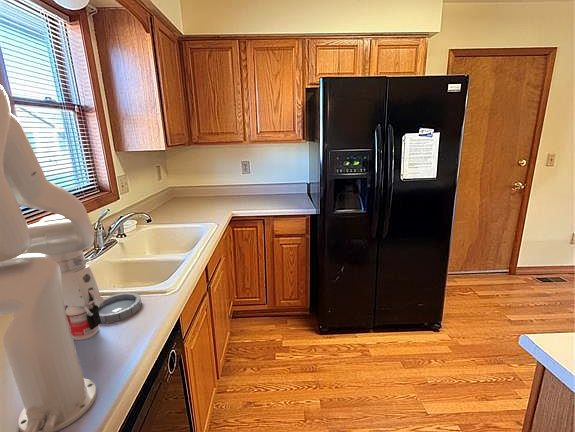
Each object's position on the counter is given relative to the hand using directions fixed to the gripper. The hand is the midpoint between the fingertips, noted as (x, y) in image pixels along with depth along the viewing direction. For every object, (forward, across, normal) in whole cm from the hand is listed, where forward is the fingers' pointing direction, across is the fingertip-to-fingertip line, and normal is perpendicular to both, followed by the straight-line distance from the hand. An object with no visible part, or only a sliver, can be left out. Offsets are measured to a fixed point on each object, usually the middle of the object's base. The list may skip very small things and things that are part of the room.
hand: (83, 324), depth 86 cm
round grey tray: (+3, 0, -12) cm, 12 cm away
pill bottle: (+3, 0, 0) cm, 3 cm away
